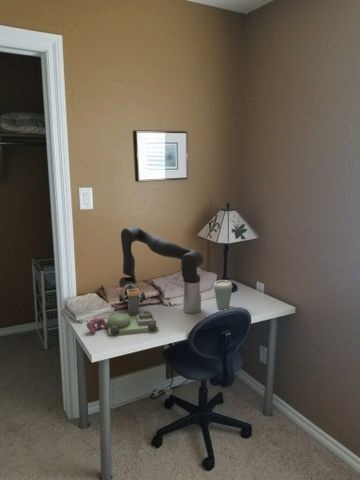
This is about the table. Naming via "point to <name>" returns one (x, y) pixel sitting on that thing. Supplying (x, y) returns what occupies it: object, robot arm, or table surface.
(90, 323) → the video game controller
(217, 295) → the disposable coffee cup
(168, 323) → the table surface
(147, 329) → the toy lawn mower
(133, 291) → the orange-capped grey post
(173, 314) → the table surface
